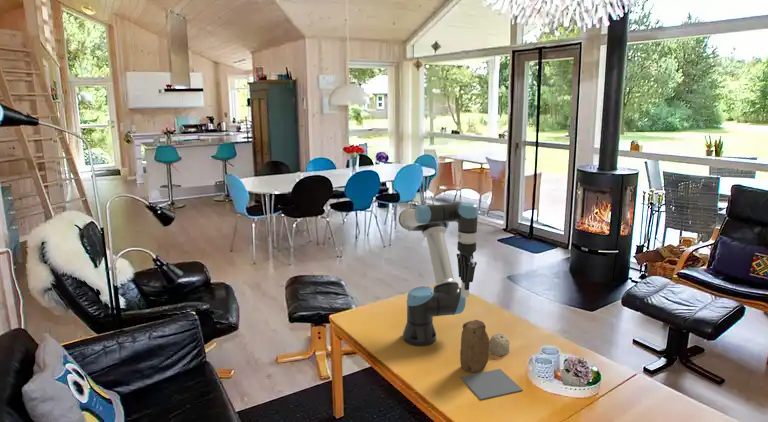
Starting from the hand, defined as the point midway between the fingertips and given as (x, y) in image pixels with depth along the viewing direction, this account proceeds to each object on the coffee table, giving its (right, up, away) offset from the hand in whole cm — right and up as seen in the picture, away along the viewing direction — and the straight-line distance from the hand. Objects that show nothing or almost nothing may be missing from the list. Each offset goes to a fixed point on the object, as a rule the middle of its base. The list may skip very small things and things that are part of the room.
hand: (465, 295), depth 219 cm
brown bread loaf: (+3, -29, -3) cm, 29 cm away
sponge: (+16, -26, +11) cm, 33 cm away
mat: (+8, -32, -15) cm, 36 cm away
